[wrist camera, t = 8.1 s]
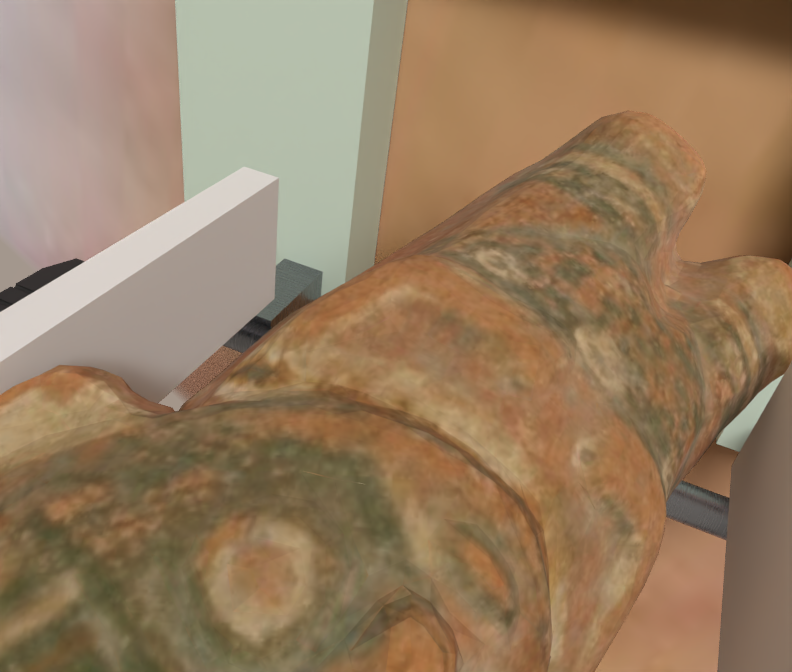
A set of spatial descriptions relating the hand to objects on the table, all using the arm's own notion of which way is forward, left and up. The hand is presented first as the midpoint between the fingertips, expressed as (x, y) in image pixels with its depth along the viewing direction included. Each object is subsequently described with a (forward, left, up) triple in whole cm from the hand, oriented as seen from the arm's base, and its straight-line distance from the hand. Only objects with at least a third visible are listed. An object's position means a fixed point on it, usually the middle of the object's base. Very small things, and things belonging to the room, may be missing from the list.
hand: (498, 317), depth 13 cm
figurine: (0, 0, -3) cm, 3 cm away
